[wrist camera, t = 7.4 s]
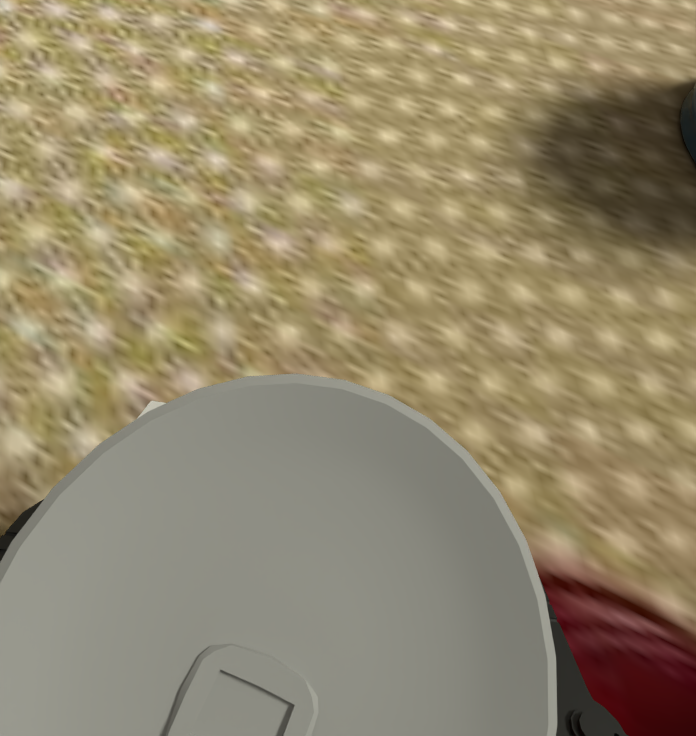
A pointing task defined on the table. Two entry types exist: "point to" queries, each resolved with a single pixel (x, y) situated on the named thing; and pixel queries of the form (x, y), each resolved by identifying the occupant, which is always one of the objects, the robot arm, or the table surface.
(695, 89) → the canister
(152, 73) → the table surface
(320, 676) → the canned food
